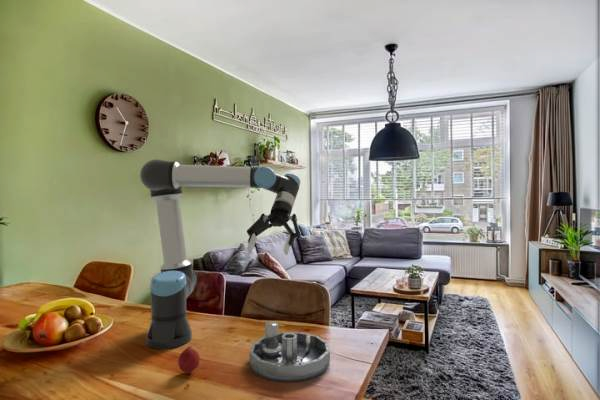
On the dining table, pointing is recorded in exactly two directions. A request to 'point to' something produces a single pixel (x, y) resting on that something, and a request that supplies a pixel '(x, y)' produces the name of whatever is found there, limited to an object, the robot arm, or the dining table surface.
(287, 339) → the planet gear
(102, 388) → the dining table surface
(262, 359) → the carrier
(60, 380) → the dining table surface
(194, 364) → the onion
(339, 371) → the dining table surface
